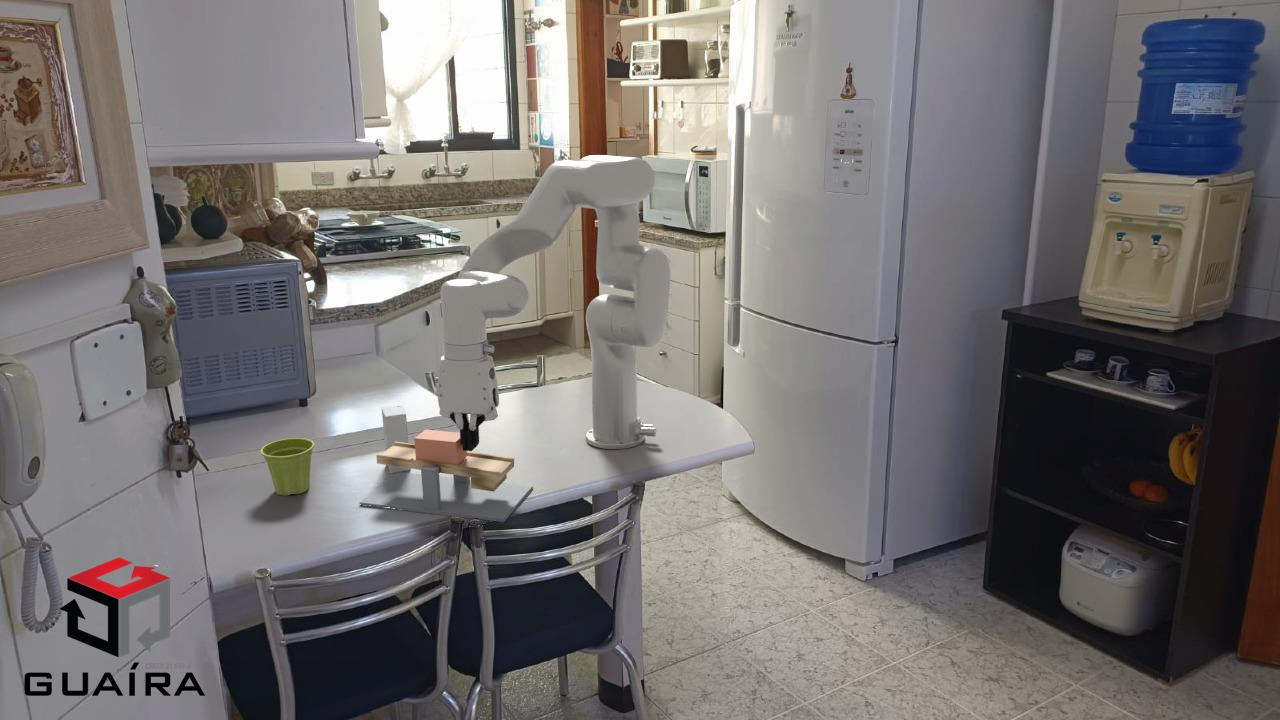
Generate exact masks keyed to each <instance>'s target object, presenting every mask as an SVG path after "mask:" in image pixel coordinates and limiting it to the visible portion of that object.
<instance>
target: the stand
mask: <svg viewBox="0 0 1280 720" xmlns="http://www.w3.org/2000/svg"><path fill="white" fill-rule="evenodd" d="M467 451H468V450H467ZM468 452H469V451H468ZM420 473H421V474H419V473H410V472H404V471H402V472H395V474H394V475H392V476H391V477H390V478H389V479H387V480H386V481H384V482H383V483H382V484H381V485H380V486H378V487H377V488H376V489H374V490H373V491H372V492H371V493H369V494H368V495H367V496H366V497H364V498H363V499H361V501H359V505H360V504H361V505H371V506H379V507H390V508H395V509H402V510H401V511H404V510H409V511H408V512H413V511H415V512H416V513H421V512H423V514H430V513H431V514H432V515H440V516H441V515H442V516H447V517H449V516H451V517H456V516H461V517H460V518H467V519H472V520H473V519H474V520H475V518H478V519H477V520H484V521H492V522H498V523H499V522H501V523H504V522H505V521H506V520H507V519H508V518H509V517H510V515H512V513H513V512H514V511H515V510H516V509H517V507H519V505H520V504H521V503H522V502H523V501H524V500H525V498H526V497H527V496H528V495H529V494H530V493H531V492H532V490H533V489H534V488H533V485H525V484H517V483H516V484H515V483H506V482H503V483H502V484H501V485H500V486H499V487H498V488H497V489H496V490H495V491H494V492H493V491H486V490H479V489H473V488H471V477H466V476H459V475H452V476H453V477H448V476H440V473H439V467H432V466H423V467H422V468H421V470H420ZM361 505H360V506H361ZM395 509H394V510H395ZM415 512H414V513H415Z"/></svg>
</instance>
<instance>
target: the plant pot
mask: <svg viewBox="0 0 1280 720" xmlns="http://www.w3.org/2000/svg"><path fill="white" fill-rule="evenodd" d="M314 447H315V442H314V441H313V440H312V439H308V438H301V437H291V438H284V439H283V438H282V439H279V440H275V441H272V442H269V443H267V444H265V445H264V446H262V447H261V449H260V454H261V455H262V456H263V458H264V460H265V462H266V464H267V467H268V470H269V473H270V477H271V480H272V483H273V487H274V492H275V493H276V494H277V495H279V496H284V497H285V496H290V495H292V494H293V495H300V494H302V493H304V492H306V491H308V490H309V489H310V486H311V460H312V459H311V458H312V455H313V449H314Z"/></svg>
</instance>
